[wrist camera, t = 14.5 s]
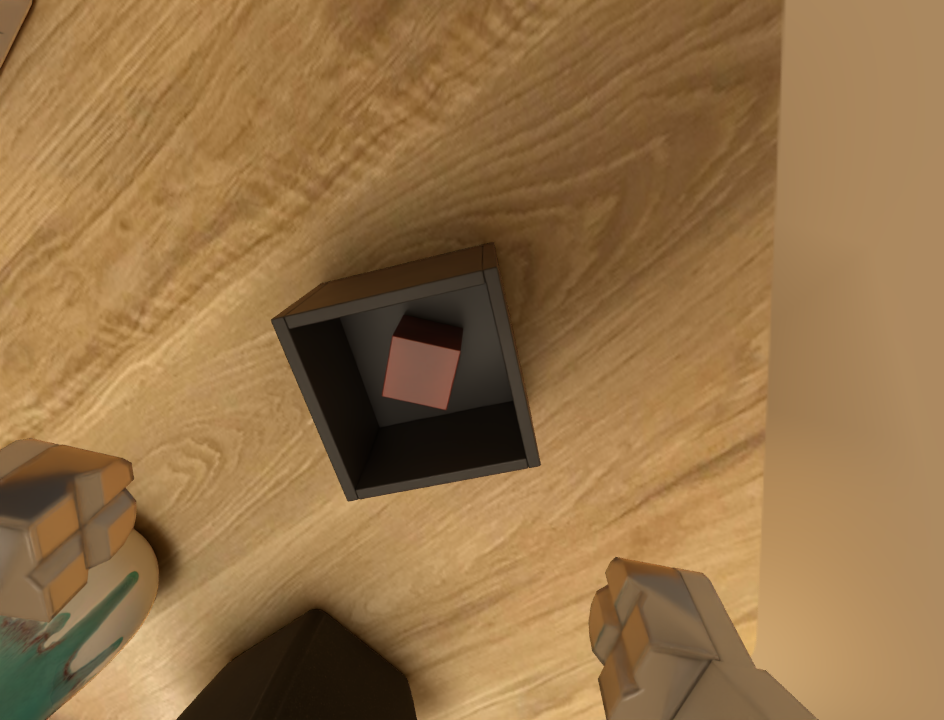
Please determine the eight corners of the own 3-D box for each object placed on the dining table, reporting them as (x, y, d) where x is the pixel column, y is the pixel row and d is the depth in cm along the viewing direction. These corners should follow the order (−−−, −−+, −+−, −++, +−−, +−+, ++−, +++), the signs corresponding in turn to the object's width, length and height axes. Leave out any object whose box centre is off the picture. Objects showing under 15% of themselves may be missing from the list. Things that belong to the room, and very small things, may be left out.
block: (463, 328, 30) (461, 350, 26) (450, 382, 31) (446, 410, 28) (403, 314, 30) (391, 335, 26) (393, 369, 31) (381, 396, 28)
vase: (115, 472, 36) (-201, 735, 19) (209, 573, 40) (14, 864, 23) (7, 521, 38) (-360, 796, 21) (107, 613, 42) (-139, 905, 25)
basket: (493, 241, 28) (497, 266, 21) (528, 402, 33) (541, 466, 26) (320, 283, 30) (269, 319, 23) (375, 432, 34) (347, 502, 27)
